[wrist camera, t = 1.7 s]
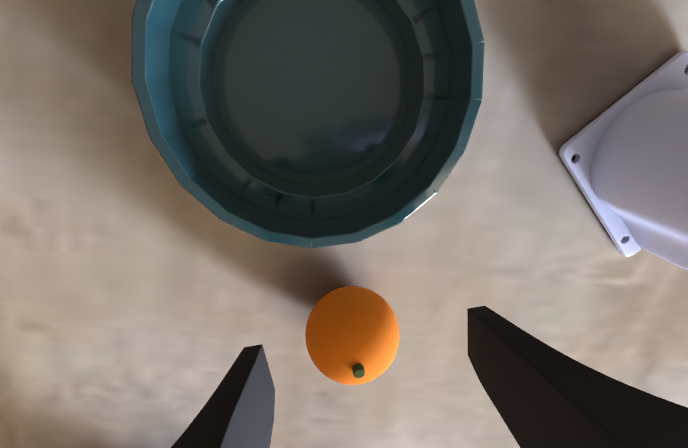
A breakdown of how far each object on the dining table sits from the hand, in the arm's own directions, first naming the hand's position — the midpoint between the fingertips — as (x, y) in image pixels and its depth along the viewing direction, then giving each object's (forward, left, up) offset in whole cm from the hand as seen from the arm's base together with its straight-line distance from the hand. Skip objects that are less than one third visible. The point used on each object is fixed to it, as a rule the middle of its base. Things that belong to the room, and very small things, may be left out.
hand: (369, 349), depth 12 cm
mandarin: (-4, +3, -7) cm, 8 cm away
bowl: (+7, -4, -10) cm, 13 cm away
